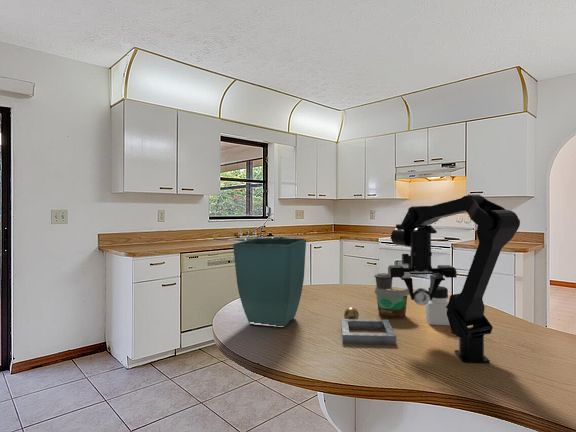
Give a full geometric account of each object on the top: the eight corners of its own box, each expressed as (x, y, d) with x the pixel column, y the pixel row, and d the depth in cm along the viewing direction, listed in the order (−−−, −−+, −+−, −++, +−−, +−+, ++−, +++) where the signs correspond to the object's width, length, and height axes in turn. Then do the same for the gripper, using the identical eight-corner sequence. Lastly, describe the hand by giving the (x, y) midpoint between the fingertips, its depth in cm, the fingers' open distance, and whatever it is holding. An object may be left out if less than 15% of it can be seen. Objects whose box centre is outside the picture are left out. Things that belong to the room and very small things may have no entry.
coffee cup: (371, 295, 159) (370, 273, 159) (387, 293, 162) (386, 271, 161) (381, 299, 151) (380, 276, 151) (397, 298, 154) (397, 274, 154)
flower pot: (291, 334, 112) (289, 244, 112) (233, 328, 119) (231, 243, 118) (308, 315, 131) (306, 238, 131) (258, 311, 138) (256, 238, 137)
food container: (370, 317, 128) (370, 289, 128) (375, 312, 134) (374, 285, 133) (406, 321, 122) (406, 292, 122) (409, 316, 128) (409, 288, 128)
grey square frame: (396, 344, 102) (396, 336, 102) (342, 343, 104) (342, 334, 104) (388, 327, 117) (387, 319, 117) (341, 326, 119) (341, 318, 119)
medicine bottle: (452, 326, 117) (451, 289, 117) (429, 325, 118) (428, 288, 118) (447, 319, 124) (446, 284, 124) (425, 318, 125) (424, 284, 125)
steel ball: (432, 307, 105) (432, 290, 105) (414, 306, 106) (414, 290, 106) (428, 302, 110) (427, 286, 110) (411, 302, 111) (411, 286, 111)
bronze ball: (359, 324, 120) (359, 309, 120) (344, 324, 121) (344, 309, 120) (358, 320, 125) (358, 305, 125) (343, 319, 125) (343, 305, 125)
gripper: (445, 245, 115) (445, 293, 115) (385, 245, 117) (385, 293, 117) (457, 249, 103) (457, 302, 104) (390, 249, 106) (391, 302, 106)
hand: (421, 299), depth 108 cm, fingers closed on steel ball, 5 cm apart
